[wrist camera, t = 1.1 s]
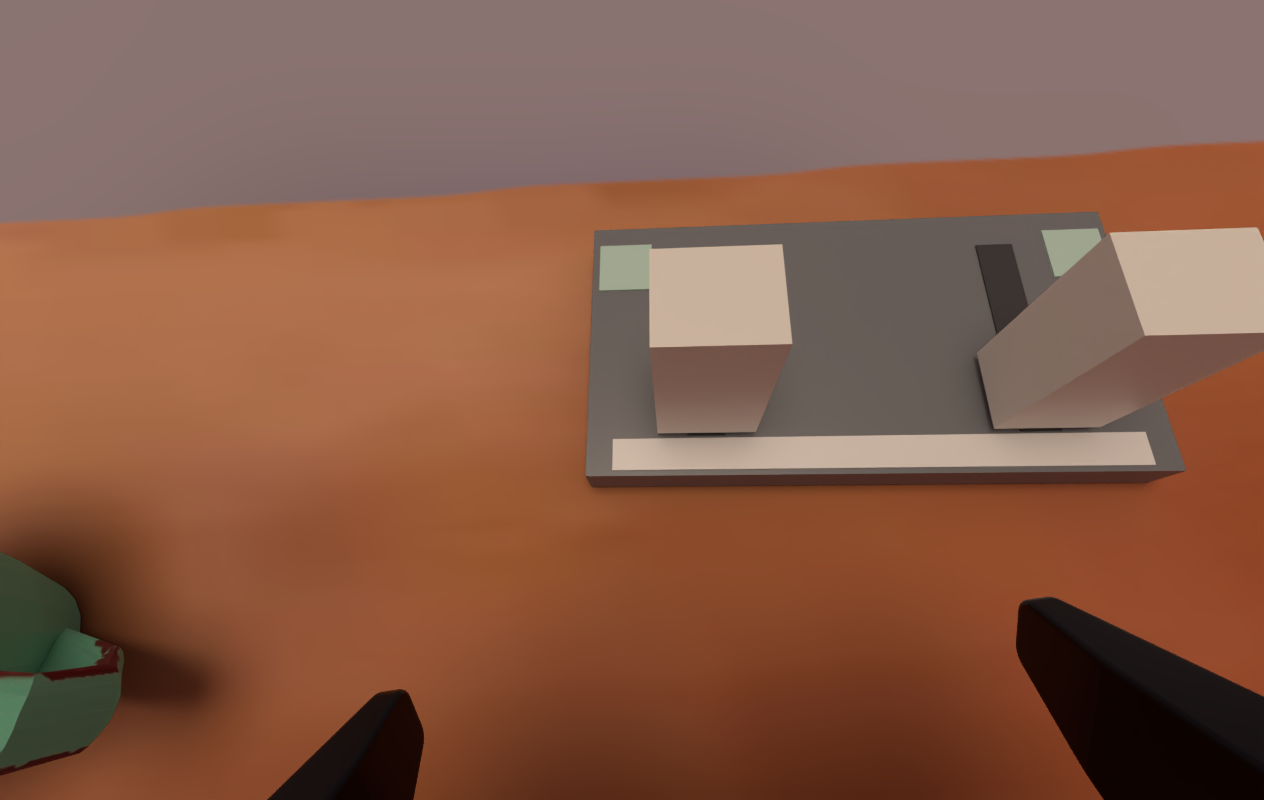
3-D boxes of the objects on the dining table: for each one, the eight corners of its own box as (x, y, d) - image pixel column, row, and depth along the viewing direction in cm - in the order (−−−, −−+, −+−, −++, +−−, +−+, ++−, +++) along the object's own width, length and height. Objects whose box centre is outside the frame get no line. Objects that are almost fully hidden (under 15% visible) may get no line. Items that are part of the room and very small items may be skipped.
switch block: (1147, 482, 22) (1188, 470, 20) (591, 487, 23) (585, 475, 22) (1070, 238, 26) (1099, 210, 24) (599, 255, 27) (594, 229, 26)
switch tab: (755, 431, 21) (792, 344, 15) (657, 433, 22) (649, 347, 15) (750, 357, 22) (782, 244, 16) (656, 359, 23) (649, 248, 16)
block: (1099, 427, 21) (1304, 331, 14) (994, 428, 21) (1144, 335, 14) (1077, 350, 22) (1257, 227, 15) (976, 352, 22) (1109, 232, 15)
